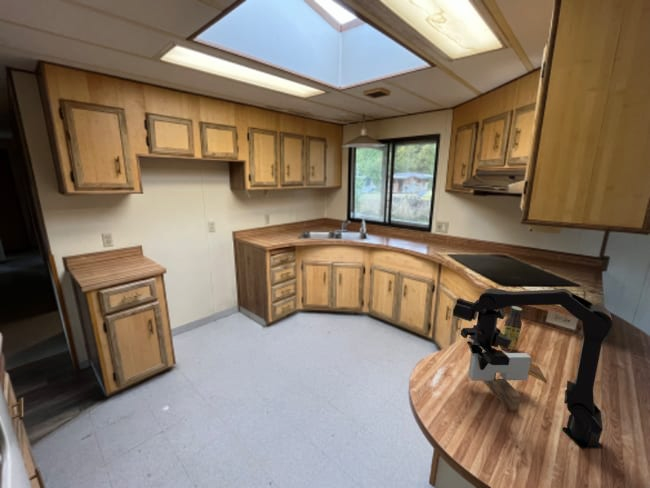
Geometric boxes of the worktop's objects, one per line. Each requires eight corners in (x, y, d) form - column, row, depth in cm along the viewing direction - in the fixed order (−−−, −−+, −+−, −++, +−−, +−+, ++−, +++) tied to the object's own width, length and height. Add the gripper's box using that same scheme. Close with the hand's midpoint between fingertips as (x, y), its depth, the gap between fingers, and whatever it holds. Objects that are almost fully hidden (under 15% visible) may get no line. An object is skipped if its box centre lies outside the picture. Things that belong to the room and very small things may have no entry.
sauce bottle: (499, 350, 125) (507, 308, 121) (498, 343, 130) (506, 303, 126) (517, 354, 122) (525, 312, 118) (515, 347, 128) (523, 306, 123)
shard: (546, 384, 105) (547, 380, 104) (522, 378, 107) (523, 374, 107) (536, 367, 115) (537, 363, 114) (514, 362, 117) (515, 358, 117)
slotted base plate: (517, 411, 91) (521, 395, 90) (510, 411, 91) (513, 395, 89) (481, 371, 110) (483, 357, 109) (474, 371, 110) (477, 357, 109)
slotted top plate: (471, 380, 98) (475, 357, 96) (467, 375, 100) (471, 353, 98) (526, 380, 99) (531, 357, 97) (521, 375, 101) (525, 353, 99)
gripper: (530, 341, 86) (521, 385, 89) (491, 313, 104) (485, 351, 108) (495, 341, 85) (487, 385, 89) (462, 313, 104) (457, 351, 107)
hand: (479, 366), depth 98 cm, fingers closed on slotted top plate, 2 cm apart
